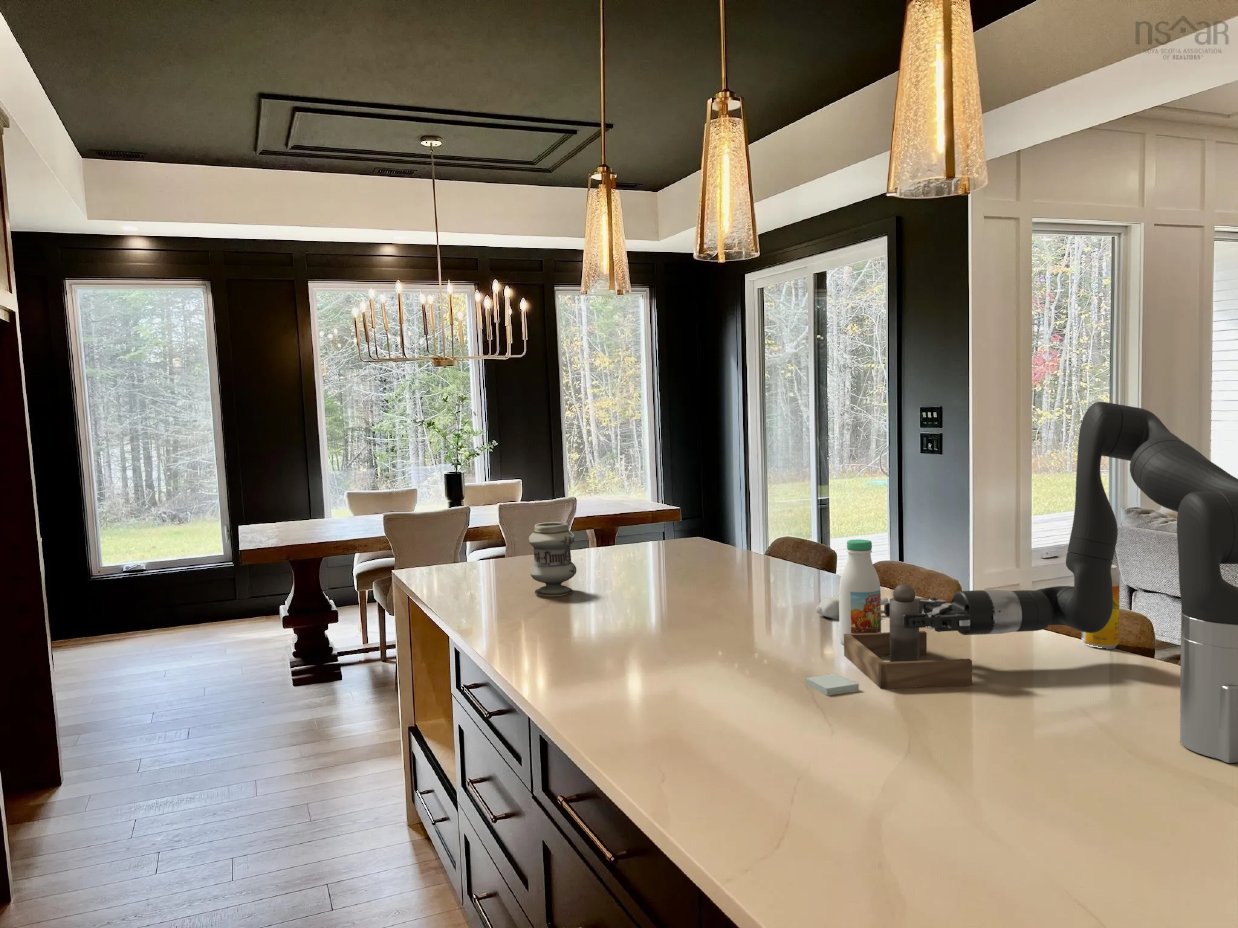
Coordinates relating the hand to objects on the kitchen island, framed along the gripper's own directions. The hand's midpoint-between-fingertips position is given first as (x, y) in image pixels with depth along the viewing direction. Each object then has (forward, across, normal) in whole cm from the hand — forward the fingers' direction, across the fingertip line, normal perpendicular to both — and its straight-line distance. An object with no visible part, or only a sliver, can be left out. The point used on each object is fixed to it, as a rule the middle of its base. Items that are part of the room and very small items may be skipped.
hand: (893, 615), depth 144 cm
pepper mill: (-2, 0, +10) cm, 10 cm away
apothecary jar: (+61, -75, +10) cm, 97 cm away
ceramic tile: (+13, +8, +10) cm, 18 cm away
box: (-2, 0, +10) cm, 10 cm away
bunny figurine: (-5, -40, +10) cm, 42 cm away
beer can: (-43, -10, +10) cm, 45 cm away
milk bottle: (0, -17, +10) cm, 20 cm away
